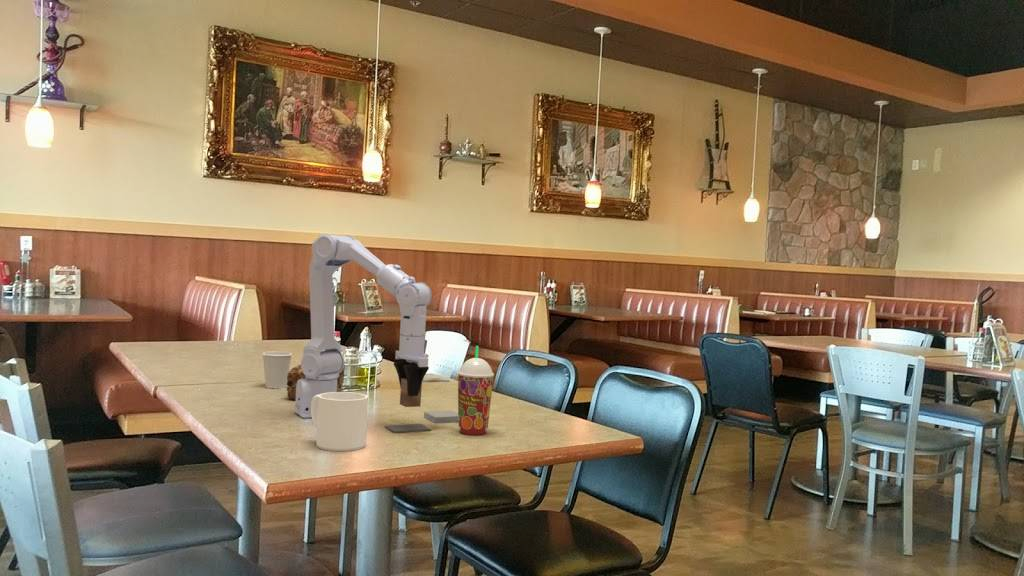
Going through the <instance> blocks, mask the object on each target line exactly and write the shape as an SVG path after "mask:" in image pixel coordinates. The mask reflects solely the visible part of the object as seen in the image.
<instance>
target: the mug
mask: <svg viewBox="0 0 1024 576" xmlns="http://www.w3.org/2000/svg"><path fill="white" fill-rule="evenodd" d="M368 401H369V395H367V394H365V393H360V392H350V391H341V392H330V393H323V394H320V395H316V396H314V397H313V399H312V402H311V416H312V417H311V421H312V423H313V425H314V426H315V428H316V440H315V441H316V442H315V445H316V448H319V449H321V450H324V451H330V452H331V451H332V452H353V451H358V450H361V449H364V448H365V447H366V445H367V444H366V443H367V428H368V427H367V425H368V424H367V423H368V407H369V406H368V405H369V402H368Z"/></svg>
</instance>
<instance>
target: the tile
mask: <svg viewBox="0 0 1024 576" xmlns="http://www.w3.org/2000/svg"><path fill="white" fill-rule="evenodd" d="M423 418H424V419H426V420H427V421H429V422H432V423H434V424H450V423H451V424H452V423H458V412H457V411H454V410H436V411H424V413H423Z"/></svg>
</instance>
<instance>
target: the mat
mask: <svg viewBox="0 0 1024 576" xmlns="http://www.w3.org/2000/svg"><path fill="white" fill-rule="evenodd" d="M384 428H385V429H387V430H388V431H390V432H392V433H393V434H400V433H414V432H428V431H432V428H430V427H428V426H426V425H425V424H423V423H409V424H391V425H384Z"/></svg>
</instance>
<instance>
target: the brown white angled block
mask: <svg viewBox="0 0 1024 576" xmlns="http://www.w3.org/2000/svg"><path fill="white" fill-rule="evenodd" d="M449 382H450V379H448V378H445V377H437V378H435V377H434V378H433V377H432V378H431V377H430V378H427V377H426V378H423V380H422V383H421V387H420V390H419V393H418V396H409V395H408V389H407V378H401V388H400V393H399V395H400V398H399V405H400V406H403V407H405V408H416V407H418V408H420V407H421V401H422V387H423V383H449Z"/></svg>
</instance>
